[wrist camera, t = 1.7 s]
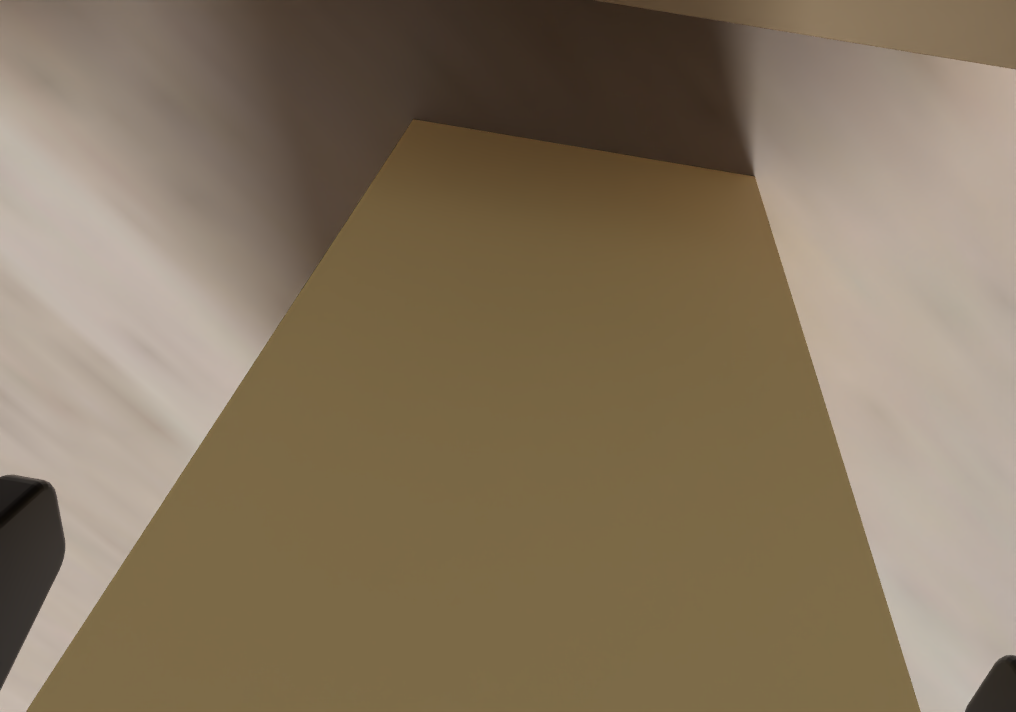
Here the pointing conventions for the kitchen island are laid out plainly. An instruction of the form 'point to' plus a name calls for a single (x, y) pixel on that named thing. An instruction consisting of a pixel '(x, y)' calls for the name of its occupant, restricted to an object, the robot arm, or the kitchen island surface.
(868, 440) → the kitchen island surface
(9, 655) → the robot arm
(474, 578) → the ochre carton
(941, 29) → the tray
